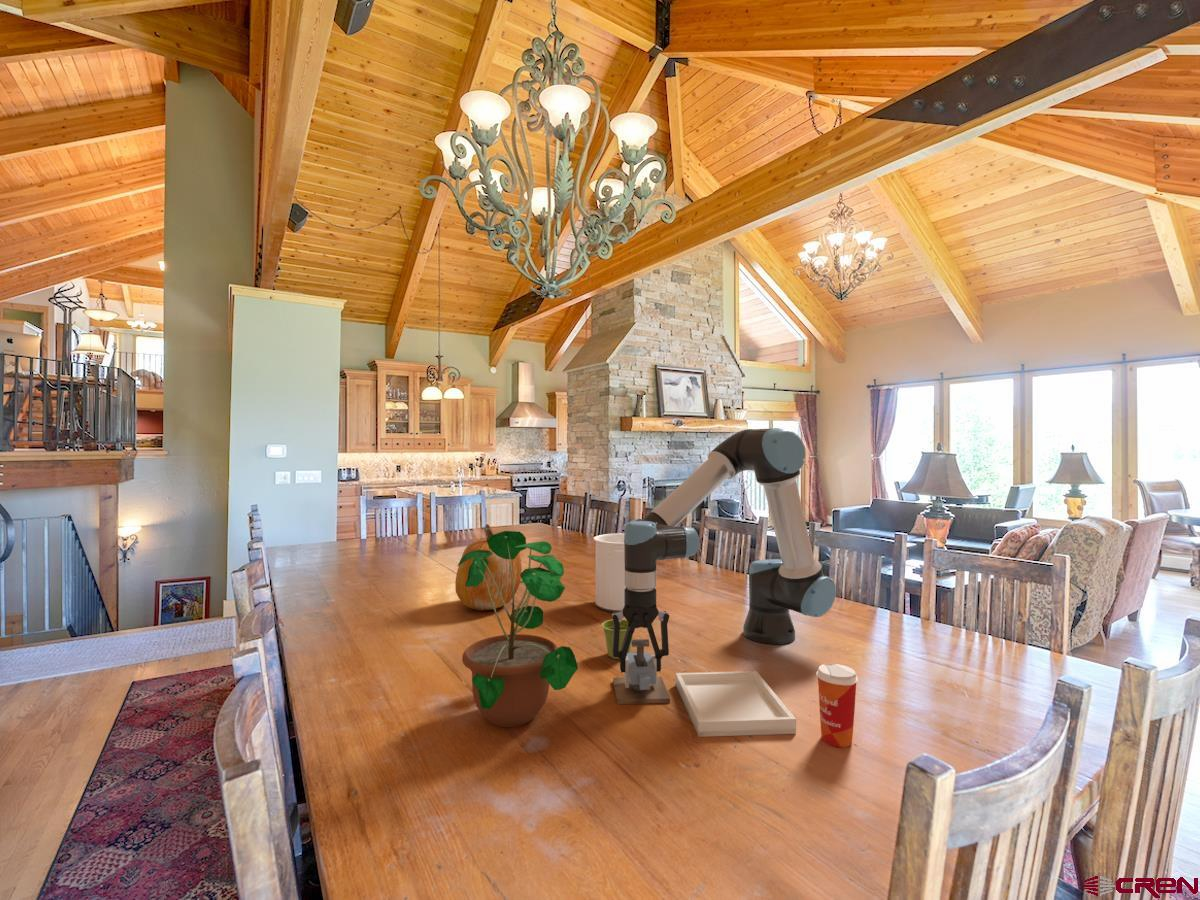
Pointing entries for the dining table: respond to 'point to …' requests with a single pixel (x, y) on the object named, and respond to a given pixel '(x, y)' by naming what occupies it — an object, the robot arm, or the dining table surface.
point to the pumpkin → (488, 578)
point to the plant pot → (608, 631)
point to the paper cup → (837, 703)
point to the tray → (733, 704)
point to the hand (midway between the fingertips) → (640, 684)
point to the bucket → (610, 571)
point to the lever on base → (633, 692)
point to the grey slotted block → (642, 671)
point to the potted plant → (517, 639)
